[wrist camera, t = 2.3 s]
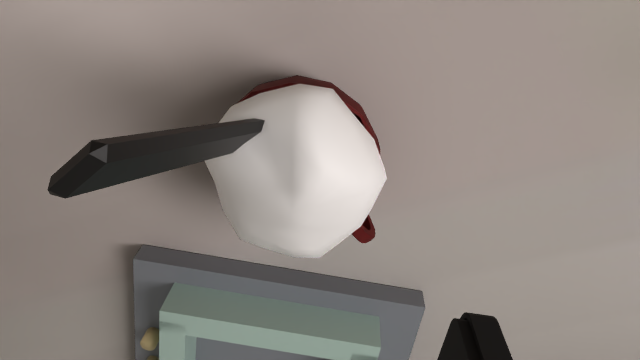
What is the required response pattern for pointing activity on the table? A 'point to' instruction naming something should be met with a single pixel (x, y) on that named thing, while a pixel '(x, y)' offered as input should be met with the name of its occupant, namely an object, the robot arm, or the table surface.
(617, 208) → the table surface
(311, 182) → the cocoa
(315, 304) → the holder board
